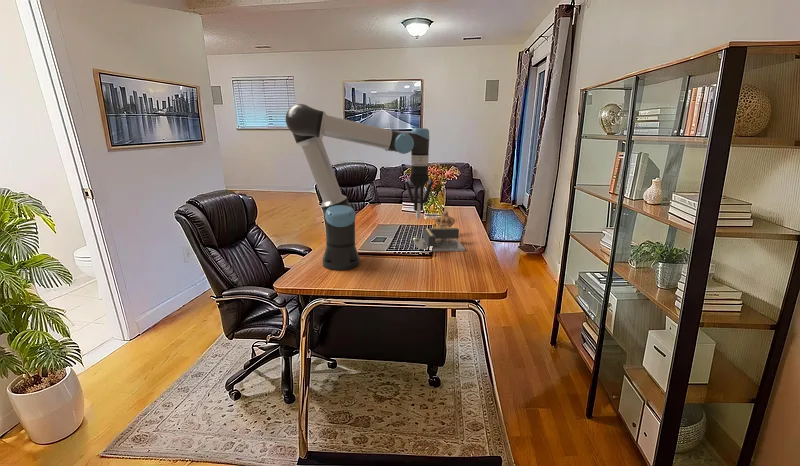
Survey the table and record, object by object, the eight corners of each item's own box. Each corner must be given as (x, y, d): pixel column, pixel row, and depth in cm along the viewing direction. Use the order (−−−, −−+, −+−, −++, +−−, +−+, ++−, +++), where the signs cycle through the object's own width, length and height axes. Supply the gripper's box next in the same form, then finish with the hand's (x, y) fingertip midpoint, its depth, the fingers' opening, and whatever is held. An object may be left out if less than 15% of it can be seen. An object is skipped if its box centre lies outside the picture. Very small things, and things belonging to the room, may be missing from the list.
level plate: (417, 251, 172) (417, 247, 172) (412, 241, 188) (412, 237, 187) (465, 250, 175) (465, 246, 175) (455, 240, 190) (456, 236, 190)
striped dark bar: (428, 248, 172) (428, 235, 171) (422, 239, 186) (423, 227, 184) (435, 248, 173) (435, 235, 171) (429, 239, 186) (429, 227, 185)
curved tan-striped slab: (458, 240, 186) (459, 228, 184) (430, 240, 184) (431, 228, 183) (456, 238, 189) (457, 226, 187) (429, 238, 187) (429, 227, 186)
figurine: (431, 237, 196) (433, 208, 197) (435, 238, 205) (436, 211, 206) (452, 238, 193) (453, 209, 194) (454, 239, 202) (456, 211, 203)
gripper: (406, 165, 158) (405, 220, 165) (436, 165, 160) (434, 219, 166) (403, 164, 165) (402, 216, 172) (432, 164, 167) (430, 215, 173)
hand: (418, 217), depth 169 cm, fingers closed
